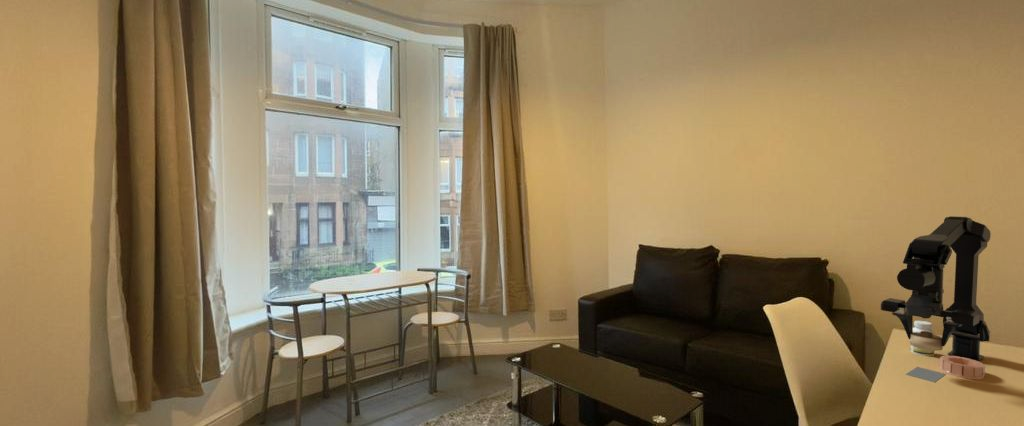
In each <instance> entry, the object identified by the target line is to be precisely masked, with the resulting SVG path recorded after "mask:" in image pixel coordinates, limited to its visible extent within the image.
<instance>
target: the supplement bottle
mask: <svg viewBox="0 0 1024 426" xmlns="http://www.w3.org/2000/svg"><path fill="white" fill-rule="evenodd" d="M913 321H914V322H913V325H914V326H913V332H921V331H927V332H931V333H933V335H936V333H935V332H934V331H933V330H932V327H933V323H931V322H929V321H926V320H925V321H923V320H913ZM909 347H910V348H909V352H910V353H913V354H915V355H919V356H925V357H933V356H935V351H934V350H926V349H921V348H917V347H914V346H912V345H911V344H910V345H909Z"/></svg>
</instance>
